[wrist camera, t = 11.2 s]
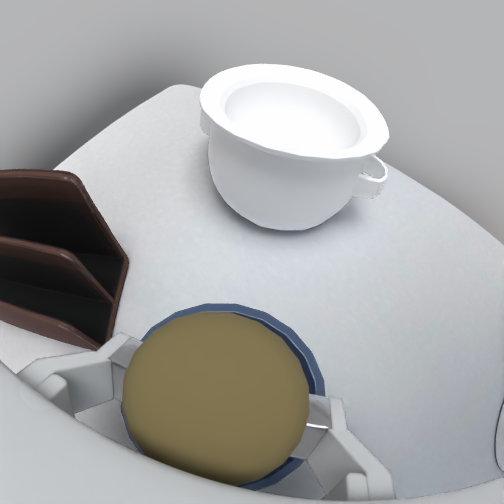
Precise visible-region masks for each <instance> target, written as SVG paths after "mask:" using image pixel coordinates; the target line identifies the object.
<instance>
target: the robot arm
mask: <svg viewBox="0 0 504 504" xmlns="http://www.w3.org/2000/svg"><path fill="white" fill-rule="evenodd" d="M142 343H143V342H142V341H140V340H138V339H136V338H133V337H131V336H129V335H126V334H124V333H122V332H119V333H117V334H116V335H115V336H114V337H112V338H111V339H110V340H109V341H108V342H107V343H105V344H104V345H103V346H102V347H101V348H100V349H98V350H97V351H96V352H94V351H87V352H81V353H74V354H68V355H61V356H54V357H47V358H39V359H36V360H35V361H33V362H32V363H31V364H29V365H28V366H27V367H25V368H24V369H23V370H21V371H20V372H19V373H17V374H15V373H14V372H13V371H12V370H10V369H9V368H8V367H7V366H6V365H5V364H4V363H3V362H2V361H1V360H0V504H504V477H501V478H497V479H494V480H491V481H488V482H485V483H481V484H478V485H474V486H471V487H467V488H463V489H459V490H454V491H450V492H445V493H440V494H434V495H428V496H421V497H414V498H405V499H396V495H395V490H394V485H393V480H392V475H391V472H390V471H389V470H388V469H387V468H386V467H385V466H384V465H383V464H382V463H381V462H380V461H379V460H378V459H377V458H376V457H375V456H374V455H373V454H372V453H371V452H370V451H369V450H368V449H367V448H366V447H365V445H364V444H363V443H362V442H361V441H360V440H359V439H358V438H357V437H356V436H355V435H354V434H353V433H352V432H350V431H348V430H347V423H346V417H345V411H344V404H343V400H342V399H338V398H332V397H324V396H318V395H313V394H309V410H310V414H309V417H308V421H307V424H306V427H305V430H304V433H303V436H302V439H301V441H300V443H299V444H298V445H297V447H296V448H295V449H294V451H293V452H292V453H291V455H290V457H295V458H301V459H306V461H307V463H308V465H309V466H310V468H311V470H312V472H313V473H314V475H315V477H316V478H317V480H318V482H319V483H320V485H321V487H322V488H323V490H324V492H325V493H326V496H325V497H324V498H323V499H321V500H317V499H306V498H297V497H289V496H282V495H275V494H269V493H264V492H258V491H253V490H249V489H244V488H240V487H236V486H232V485H228V484H224V483H220V482H216V481H213V480H210V479H206V478H203V477H200V476H197V475H194V474H191V473H188V472H185V471H182V470H179V469H177V468H174V467H171V466H169V465H166V464H164V463H161V462H159V461H156V460H154V459H151V458H149V457H147V456H145V455H142V454H140V453H138V452H136V451H134V450H132V449H129V448H127V447H125V446H123V445H121V444H119V443H117V442H115V441H114V440H112V439H110V438H108V437H106V436H104V435H102V434H101V433H99V432H97V431H95V430H94V429H92V428H90V427H88V426H87V425H85V424H83V423H82V422H80V421H79V420H77V419H76V418H75V415H74V414H75V413H78V412H81V411H83V410H86V409H89V408H92V407H94V406H97V405H100V404H102V403H105V402H107V401H110V400H113V399H114V398H115V399H117V400H119V401H121V402H122V392H123V378H124V375H125V373H126V370H127V368H128V366H129V363H130V361H131V358H132V356H133V354H134V352H135V351H136V350H137V349H138V347H139V346H140V345H141V344H142ZM496 458H497V462H498V465H499V467H500V469H501V470H502V471H504V403H503V406H502V410H501V413H500V417H499V422H498V427H497V434H496Z"/></svg>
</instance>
